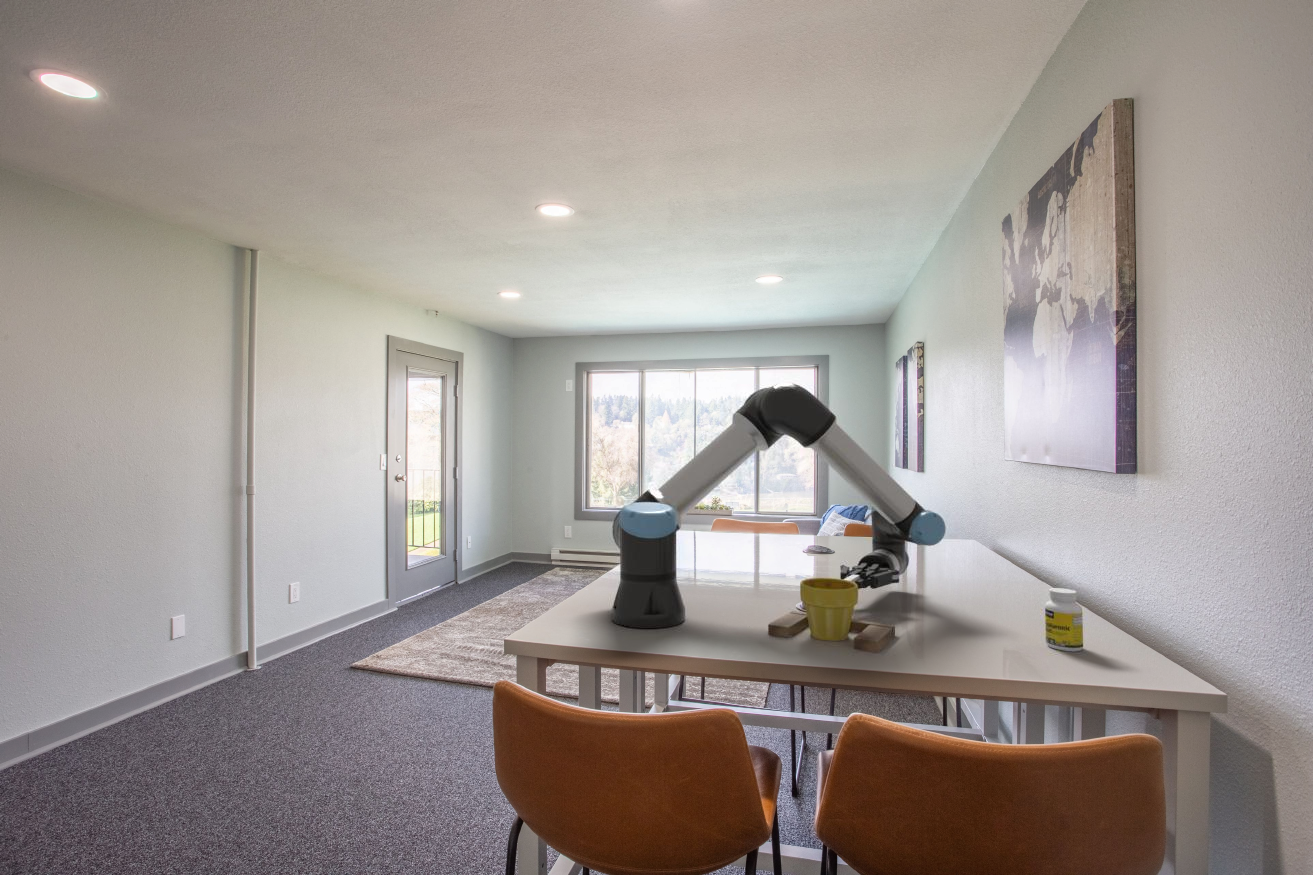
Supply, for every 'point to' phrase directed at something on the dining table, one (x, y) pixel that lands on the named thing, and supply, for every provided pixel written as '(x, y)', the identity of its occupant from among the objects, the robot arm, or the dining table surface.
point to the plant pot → (829, 606)
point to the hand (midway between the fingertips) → (846, 587)
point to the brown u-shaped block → (868, 639)
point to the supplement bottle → (1063, 620)
